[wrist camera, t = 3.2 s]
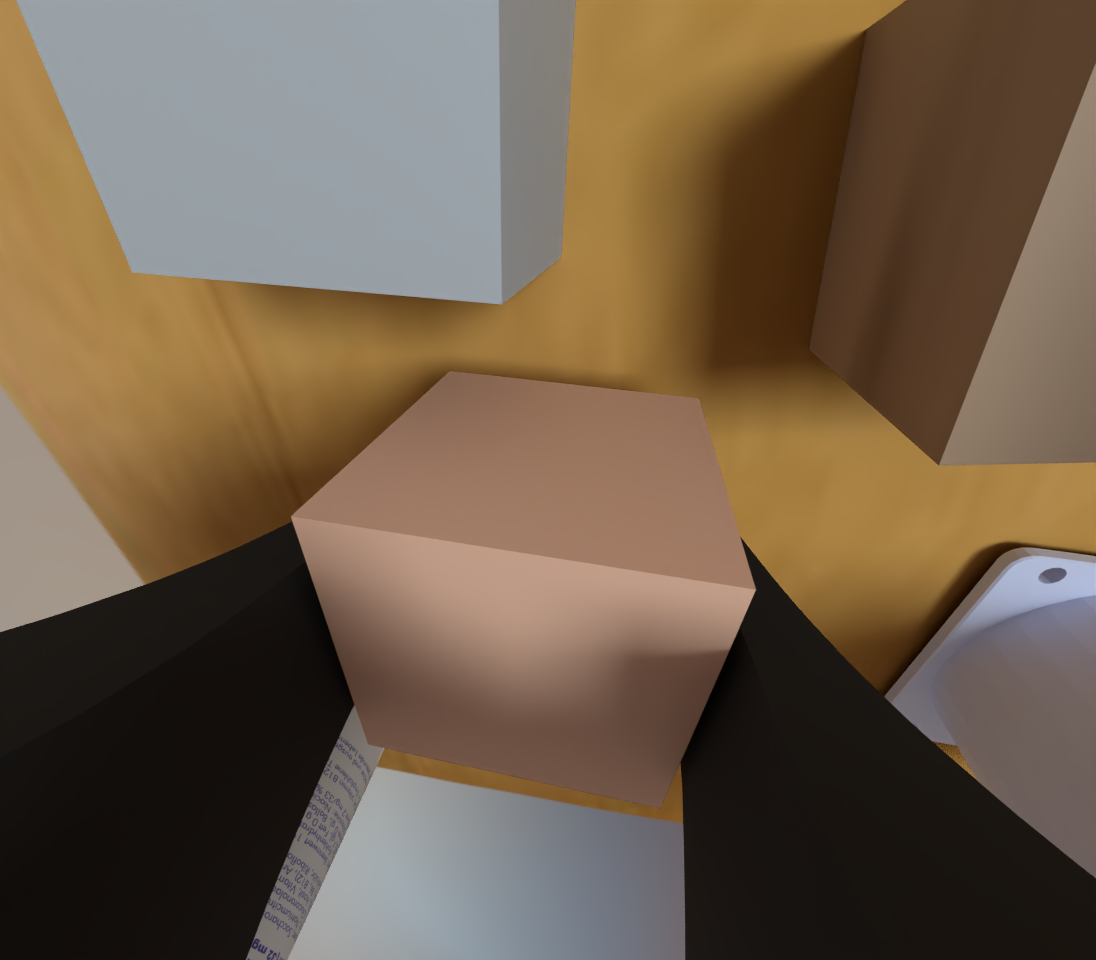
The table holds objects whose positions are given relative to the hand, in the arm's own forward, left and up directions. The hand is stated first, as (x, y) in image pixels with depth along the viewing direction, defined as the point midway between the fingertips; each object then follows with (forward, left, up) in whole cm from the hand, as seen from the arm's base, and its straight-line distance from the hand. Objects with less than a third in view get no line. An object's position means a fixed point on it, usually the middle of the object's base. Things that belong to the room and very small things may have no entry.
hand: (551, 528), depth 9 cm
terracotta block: (0, 0, -2) cm, 2 cm away
